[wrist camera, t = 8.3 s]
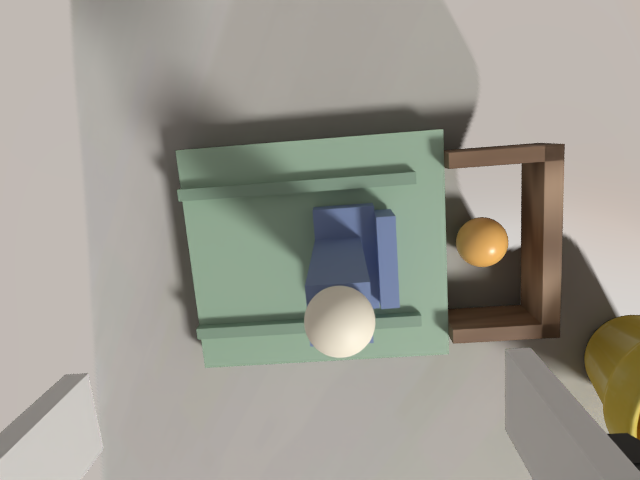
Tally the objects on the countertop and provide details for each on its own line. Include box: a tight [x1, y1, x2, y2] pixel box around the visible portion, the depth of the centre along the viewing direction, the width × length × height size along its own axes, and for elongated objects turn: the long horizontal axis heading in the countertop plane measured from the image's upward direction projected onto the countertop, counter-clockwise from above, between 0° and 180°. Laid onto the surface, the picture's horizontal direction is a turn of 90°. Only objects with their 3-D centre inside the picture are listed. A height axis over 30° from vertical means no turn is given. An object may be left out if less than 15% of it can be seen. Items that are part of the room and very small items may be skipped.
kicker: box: [304, 203, 400, 358], centre depth 27 cm, size 7×5×14 cm
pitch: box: [175, 129, 449, 368], centre depth 35 cm, size 16×18×3 cm
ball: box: [456, 217, 508, 267], centre depth 35 cm, size 4×4×4 cm
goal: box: [444, 143, 565, 344], centre depth 34 cm, size 13×7×4 cm, turn 4°
